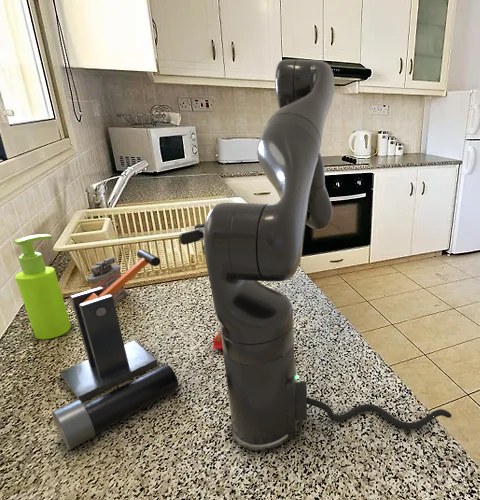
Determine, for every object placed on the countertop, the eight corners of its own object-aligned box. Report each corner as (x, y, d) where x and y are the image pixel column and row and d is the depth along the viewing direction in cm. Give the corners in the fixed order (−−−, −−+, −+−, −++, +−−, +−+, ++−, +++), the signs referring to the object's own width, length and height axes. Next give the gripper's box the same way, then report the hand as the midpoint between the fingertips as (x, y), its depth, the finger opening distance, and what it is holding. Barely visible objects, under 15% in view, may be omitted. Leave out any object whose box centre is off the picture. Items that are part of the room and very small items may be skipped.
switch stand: (135, 345, 72) (120, 275, 67) (157, 365, 67) (143, 291, 61) (61, 377, 63) (36, 300, 58) (80, 403, 58) (55, 321, 53)
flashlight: (165, 379, 63) (159, 352, 61) (182, 395, 60) (177, 366, 58) (59, 435, 52) (48, 404, 50) (73, 458, 49) (62, 425, 47)
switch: (149, 255, 68) (140, 246, 66) (163, 263, 65) (154, 254, 63) (86, 310, 62) (74, 302, 60) (98, 322, 59) (86, 314, 57)
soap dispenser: (82, 326, 77) (56, 235, 70) (42, 342, 72) (10, 246, 65) (68, 318, 80) (43, 229, 73) (29, 333, 75) (-2, 239, 68)
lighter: (103, 309, 84) (93, 269, 80) (90, 308, 84) (80, 267, 81) (130, 293, 91) (121, 255, 88) (118, 291, 92) (109, 254, 88)
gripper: (239, 204, 86) (170, 218, 74) (280, 216, 77) (210, 234, 66) (242, 235, 88) (175, 253, 77) (282, 249, 80) (214, 273, 68)
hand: (191, 244), depth 71 cm, fingers open, 8 cm apart
